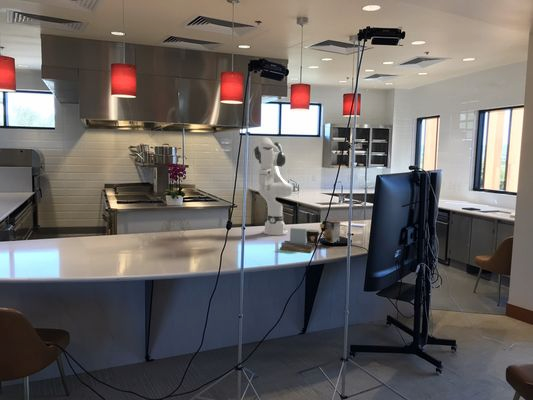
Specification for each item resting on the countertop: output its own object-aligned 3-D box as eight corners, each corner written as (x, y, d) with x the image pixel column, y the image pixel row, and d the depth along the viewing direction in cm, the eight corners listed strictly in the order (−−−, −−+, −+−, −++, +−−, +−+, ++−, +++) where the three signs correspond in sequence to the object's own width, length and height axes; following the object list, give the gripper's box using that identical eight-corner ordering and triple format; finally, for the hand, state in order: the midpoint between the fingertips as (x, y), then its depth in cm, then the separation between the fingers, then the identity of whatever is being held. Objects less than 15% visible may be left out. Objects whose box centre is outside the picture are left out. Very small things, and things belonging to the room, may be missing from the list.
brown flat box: (286, 245, 305) (286, 239, 304) (315, 248, 298) (315, 242, 298) (279, 249, 292) (280, 243, 291) (310, 252, 285) (310, 246, 285)
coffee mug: (303, 245, 307) (304, 230, 306) (308, 243, 314) (309, 229, 313) (319, 247, 301) (320, 232, 300) (324, 245, 309) (325, 230, 308)
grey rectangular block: (291, 245, 298) (291, 227, 297) (306, 247, 295) (306, 228, 293) (289, 246, 295) (290, 228, 294) (304, 248, 292) (305, 229, 291)
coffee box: (323, 243, 315) (324, 220, 313) (329, 242, 319) (330, 219, 317) (332, 246, 307) (333, 222, 306) (339, 245, 311) (340, 221, 310)
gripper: (267, 170, 318) (266, 190, 320) (257, 171, 299) (256, 192, 300) (276, 170, 316) (275, 190, 318) (266, 171, 297) (266, 193, 298)
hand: (266, 191), depth 309 cm, fingers open, 8 cm apart
